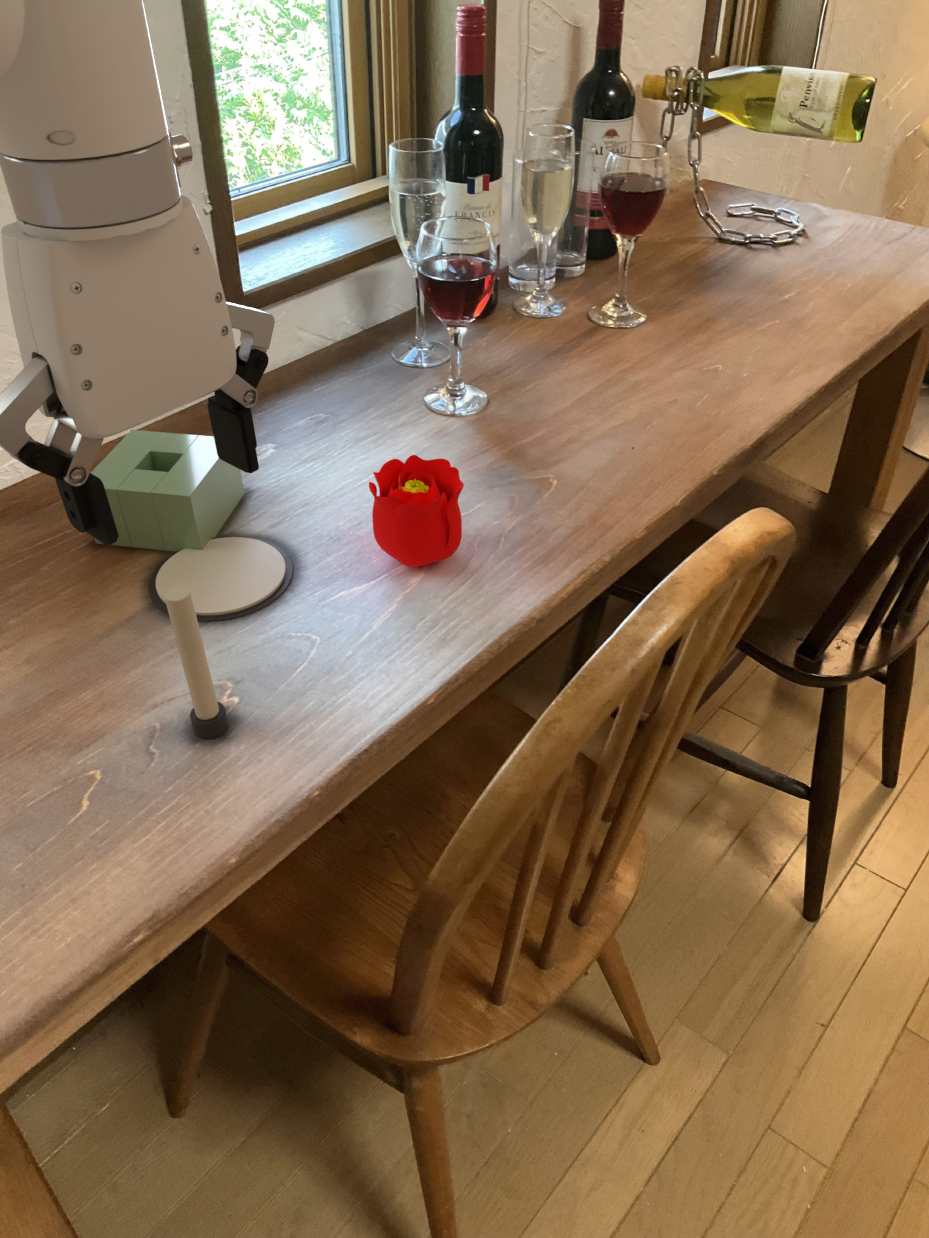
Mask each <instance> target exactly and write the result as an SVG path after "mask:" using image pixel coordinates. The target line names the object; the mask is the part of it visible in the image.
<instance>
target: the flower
mask: <svg viewBox="0 0 929 1238" xmlns="http://www.w3.org/2000/svg"><path fill="white" fill-rule="evenodd" d="M372 472H373V476H374V478H375V481H376V484H377V485H376V484H375V483H374V482H372V481H369V482H368V488H369V492H370V493H371V495H372V496H373V504H372V515H371V516H372V517H371V519H372V530H373V537H374V539H375V541H376V544H377V545H378V546H379V547H380V549H382V551H384V552H385V553H386V554H387V555H388V556H390V557H391V558H393V559H395V560H396V561H398V562H399V563H401V564H402V565H403V566H407V567H411V568H415V567H422V566H426V565H429V564H433V563H438V562H440V561H443V560H446V559H448V558H450V557H451V556H452V555H454V554H455V552H457V550H458V549H459V547H460V545H461V542H462V536H463V534H462V533H463V521H462V512H461V509H460V506H459V497H460V495H461V494H462V491H463V489H464V487H465V484H464V482H463V481H462V480H461V479H460V471H459V469H458V468H457V467H455V466H452V464H451V462H450V461H449V460H448V459H446V458H434V459H423V458H421V457H419V456H418V455H417V454H411V455H410V456H408V457H407V458H406V460H405V461H404V462H403V461H402V460H401V459H399V458H392V459H390V460H388V461H386V462H384V464H382V466H381V467H380V470H379V471H378V472H377V471H376V472H375V471H372ZM377 487H378V488H377ZM378 491H379V495H377V494H378Z"/></svg>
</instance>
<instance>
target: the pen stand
mask: <svg viewBox="0 0 929 1238" xmlns="http://www.w3.org/2000/svg"><path fill="white" fill-rule="evenodd" d="M90 473H91V474H93V475H95V476H96V477H98V478H100V479H101V481H102V482H103V485H104V488H105V491H106V495H107V498H108V501H109V505H110V508H111V511H112V515H113V518H114V521H115V525H116V528H117V532H118V535H119V538H118V539H117V542H115V543H113V544H111V545H110V546H117V547H119V546H120V547H127V548H137V549H138V548H139V549H148V550H157V551H168V552H174V553H175V552H176V551H181V550H183V549H195V550H203V548H204V547H205V545H206V544H207V543H208V541H209V540H211V539H213V538H216V537H217V535H218V533H219V532H220V531H221V529H222V528H223V526H224V525H225V523H226V522H227V520H228V519H229V517H230V516H231V515H232V513H233V512H234V510H235V509H236V507H237V506H238V504H239V503H240V501H241V500H242V499H243V498H244V495H245V493H246V492H245V487H244V482H243V478H242V470H240V469H238V468H236V467H234V466H232V465H230V464H228V463H226V462H224V461H223V460H221V459H220V458H219V457H218V455H217V450H216V445H215V441H214V436H213V435H202V434H188V433H177V432H176V433H174V432H162V431H152V430H151V431H150V430H139V429H138V430H137V429H130V430H129V432H128V433H127V434H126V435H125V436H124V437H123V438H122V439H121V440H120V441H119V442H118V443H117V444H116V445H115V446H114V448H113V449H111V451H109V453H108V454H107V455H106V456H105V457H104V458H103V459H102V460H101V461H100V462H99V463H98V464H97V465H96V466H95V468H93V469H92V470H91V472H90ZM93 539H94V542H95V544H98V545H104V544H103V543H102V542H100V541H99V540H97V539H96V538H94V537H93Z"/></svg>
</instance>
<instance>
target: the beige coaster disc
mask: <svg viewBox="0 0 929 1238" xmlns="http://www.w3.org/2000/svg"><path fill="white" fill-rule="evenodd" d="M293 576H294V564H293V562H292V558H291V557H290V556H289V554H288V553H287V552H286V550H284V549H283V548H282V547H280V546H279V545H277V544H275V543H273V542H271V541H268V540H266V539H263V538H259V537H254V536H248V535H247V536H246V535H229V536H228V535H227V536H218V537H217V536H216V537H215V538H213V539H211V540H209V541H208V543H207V544H206V545H205V547H204V548H203V550H195V549H183V550H181V551H176V552H175V551H174V552H173V553H171V554H170V555H168V556H167V557H166V558H165V559H163V561H161V562H160V563H159V564H158V566H157V567H156V568H155V569H154V571H153V573H152V574H151V577H150V579H149V581H148V582H149V584H148V592H149V596H150V599H151V600H152V602H153V604H155V606H156V607H157V608H158V609H160V610H161V611H162V612H163V613H165V614H167V615H169V613H168V609H167V605H166V601H165V598H164V594H165V592H166V591H167V590H168V589H170V588H172V587H175V586H185V587H187V588H188V589H189V590H190V592H191V596H192V600H193V604H194V609H195V613H196V617H197V621H198V623H199V622H200V623H211V622H223V621H229V620H234V619H238V618H242V617H245V616H248V615H252V614H253V613H256V612H258V611H260V610H262V609H264V608H266V607H268V606H269V605H271V604H272V603H274V602H275V601H276V600H277V599H278V598H280V597H281V596H282V595H283V594H284V592H285V591H286V590H287V589H288V587H289V586H290V584H291V582H292V579H293Z"/></svg>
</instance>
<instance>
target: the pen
mask: <svg viewBox="0 0 929 1238" xmlns="http://www.w3.org/2000/svg"><path fill="white" fill-rule="evenodd" d="M164 598H165V601H166V605H167V609H168V613H169V614H168V616H169V620H170V625H171V627H172V631H173V635H174V639H175V643H176V646H177V649H178V653H179V657H180V661H181V664H182V668H183V673H184V676H185V680H186V683H187V687H188V691H189V694H190V698H191V702H192V706H193V707H192V709H191V711H190V713H189V718H190V721H191V725H192V730H193V733H194V735H195V736H196V738H198V739H200V740H202V741H213V740H217V739H220V738H221V737H222V736H224V735H225V734H226V733H227V732H228V730H229V727H230V723H229V719H228V715H227V710H226V707H225V705H224V704H223V703H222V702H220V701H218V700H217V694H216V690H215V686H214V683H213V678H212V675H211V670H210V666H209V662H208V658H207V654H206V650H205V646H204V641H203V637H202V635H201V630H200V626H199V622H198V621H197V617H196V613H195V609H194V604H193V600H192V596H191V592H190V590H189V589H188V588H187V587H185V586H175V587H172V588H170V589H168V590H167V591H166V592H165V594H164Z"/></svg>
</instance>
